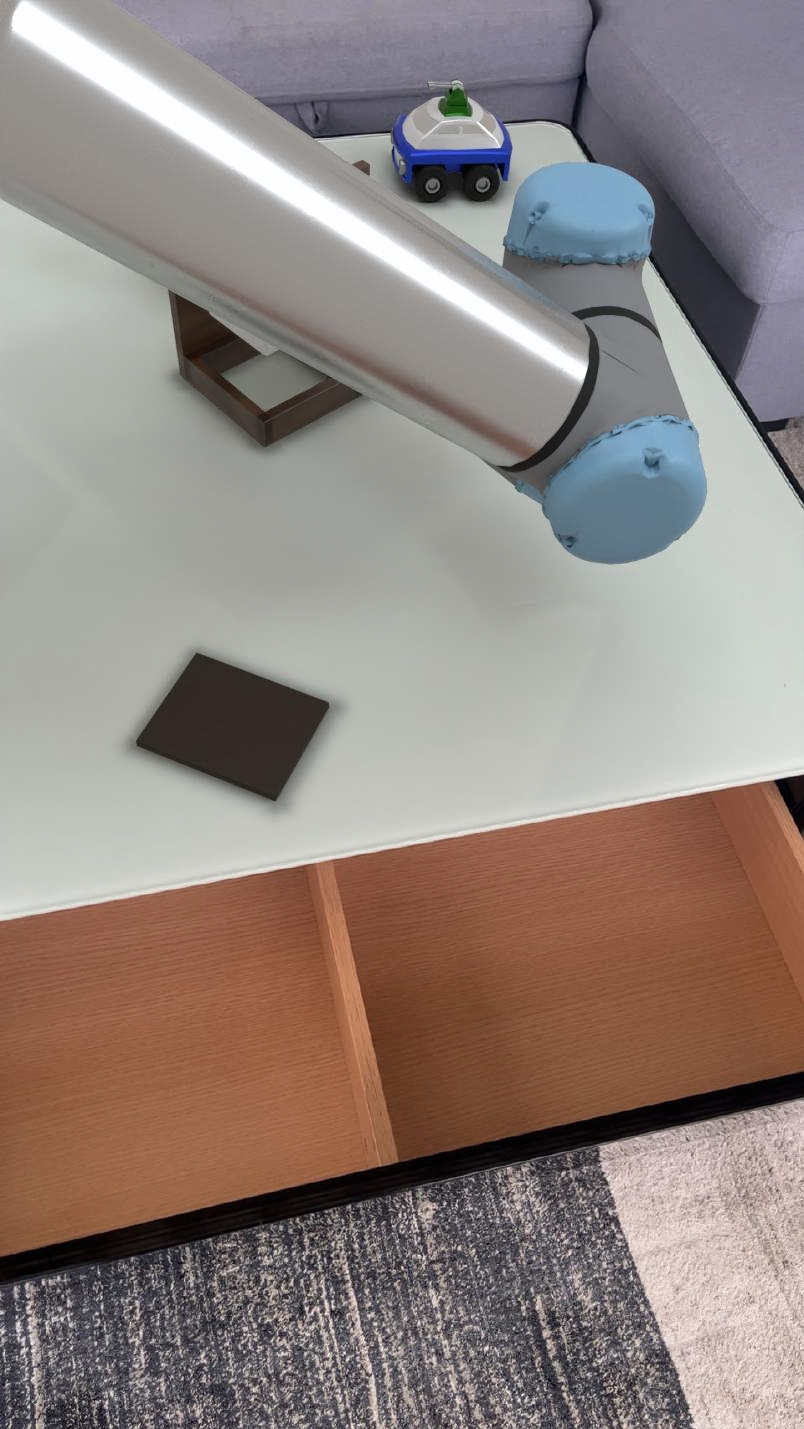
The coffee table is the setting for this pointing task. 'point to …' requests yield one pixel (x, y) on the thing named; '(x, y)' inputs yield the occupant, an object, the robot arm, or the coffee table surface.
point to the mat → (234, 725)
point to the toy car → (451, 145)
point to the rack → (220, 349)
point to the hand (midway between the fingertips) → (226, 200)
